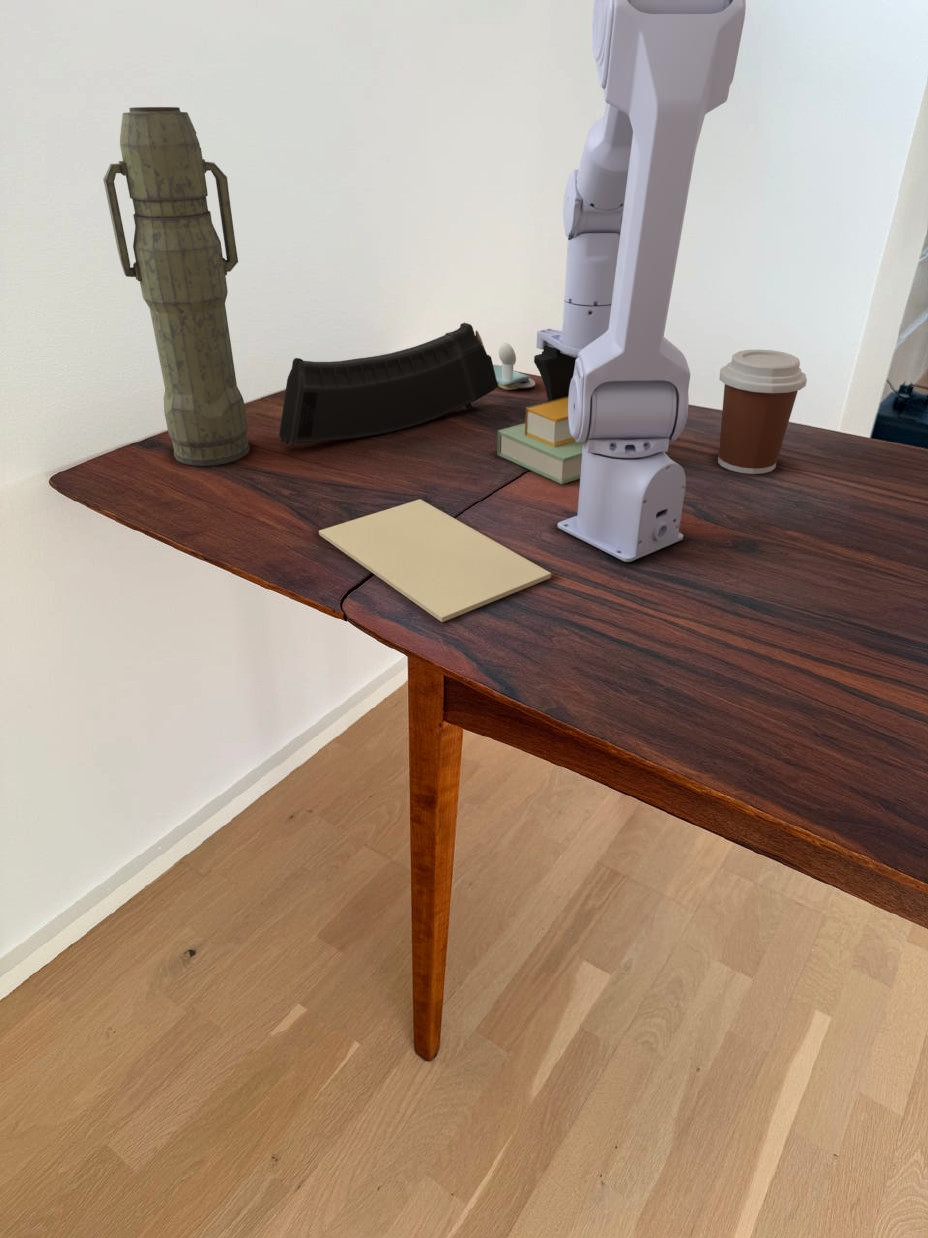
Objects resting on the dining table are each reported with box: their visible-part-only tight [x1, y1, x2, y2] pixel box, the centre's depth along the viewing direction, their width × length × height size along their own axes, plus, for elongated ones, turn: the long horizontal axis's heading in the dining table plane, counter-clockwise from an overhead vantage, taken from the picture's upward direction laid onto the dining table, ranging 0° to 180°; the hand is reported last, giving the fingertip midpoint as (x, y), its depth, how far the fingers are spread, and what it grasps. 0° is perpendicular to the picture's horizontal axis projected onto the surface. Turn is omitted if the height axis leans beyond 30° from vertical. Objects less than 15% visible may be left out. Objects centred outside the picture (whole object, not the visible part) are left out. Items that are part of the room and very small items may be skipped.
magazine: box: [278, 322, 498, 446], centre depth 105 cm, size 17×3×30 cm
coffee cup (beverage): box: [717, 349, 808, 475], centre depth 94 cm, size 9×9×12 cm
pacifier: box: [493, 342, 536, 391], centre depth 121 cm, size 7×6×6 cm
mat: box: [318, 498, 552, 623], centre depth 78 cm, size 20×12×1 cm, turn 38°
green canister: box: [102, 106, 250, 467], centre depth 91 cm, size 9×12×35 cm
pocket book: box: [524, 396, 576, 447], centre depth 98 cm, size 13×5×3 cm, turn 128°
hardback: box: [496, 422, 583, 485], centre depth 99 cm, size 16×11×3 cm
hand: (581, 423), depth 98 cm, fingers open, 7 cm apart
